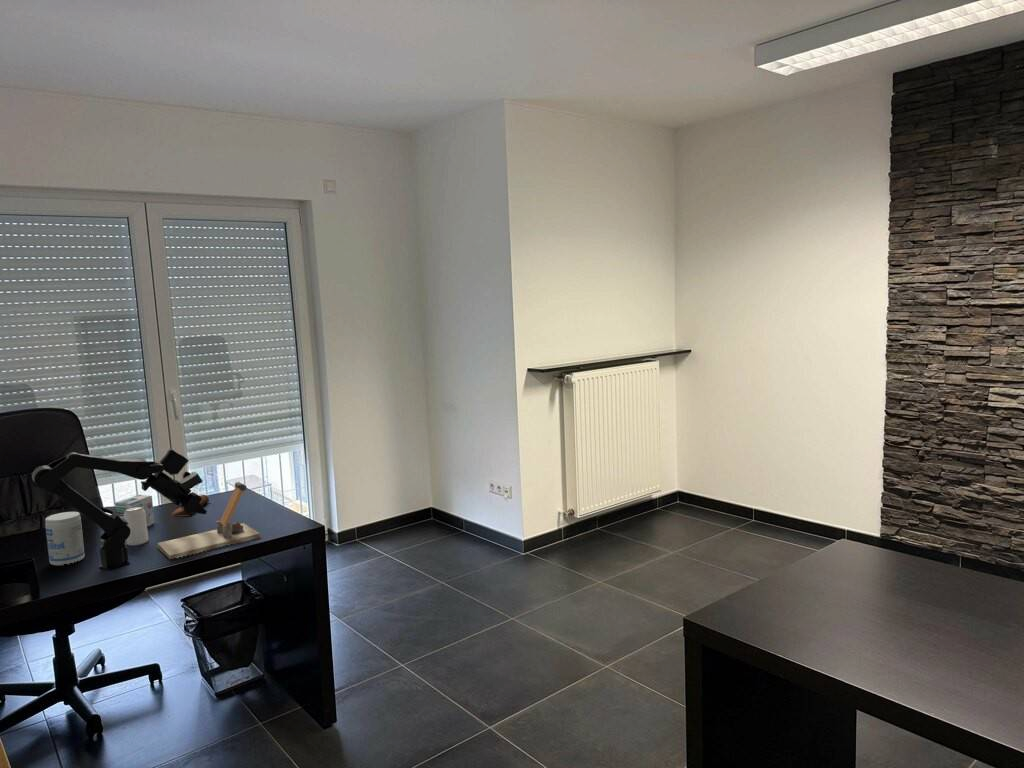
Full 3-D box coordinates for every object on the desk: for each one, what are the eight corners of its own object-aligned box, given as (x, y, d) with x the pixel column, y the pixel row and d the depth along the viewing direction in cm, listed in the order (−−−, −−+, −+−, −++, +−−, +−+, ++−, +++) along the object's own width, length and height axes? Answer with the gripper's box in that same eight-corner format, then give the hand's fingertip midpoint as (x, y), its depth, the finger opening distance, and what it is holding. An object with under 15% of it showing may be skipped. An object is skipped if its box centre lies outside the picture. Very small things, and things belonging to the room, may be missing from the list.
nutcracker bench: (170, 560, 222) (168, 543, 221) (157, 547, 234) (155, 531, 234) (260, 537, 239) (258, 521, 238) (243, 527, 252) (242, 512, 251)
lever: (223, 525, 236) (242, 484, 239) (217, 521, 241) (236, 481, 244) (229, 527, 237) (247, 486, 240) (223, 523, 242) (241, 482, 245)
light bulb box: (131, 533, 251) (128, 503, 250) (117, 531, 253) (113, 502, 252) (155, 523, 261) (152, 494, 260) (141, 522, 263) (138, 494, 262)
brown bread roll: (187, 503, 286) (195, 488, 285) (204, 511, 287) (211, 496, 286) (168, 517, 268) (175, 501, 268) (185, 525, 269) (193, 510, 268)
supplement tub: (43, 567, 221) (37, 521, 219) (60, 556, 230) (55, 512, 228) (75, 565, 221) (69, 519, 219) (91, 554, 231) (86, 510, 229)
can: (132, 547, 236) (128, 512, 234) (123, 544, 239) (119, 509, 238) (152, 541, 241) (148, 507, 239) (143, 538, 245) (139, 504, 243)
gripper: (192, 470, 223) (231, 497, 231) (176, 461, 237) (213, 487, 245) (167, 500, 219) (208, 527, 227) (152, 489, 233) (191, 514, 241)
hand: (205, 512), depth 235 cm, fingers closed
